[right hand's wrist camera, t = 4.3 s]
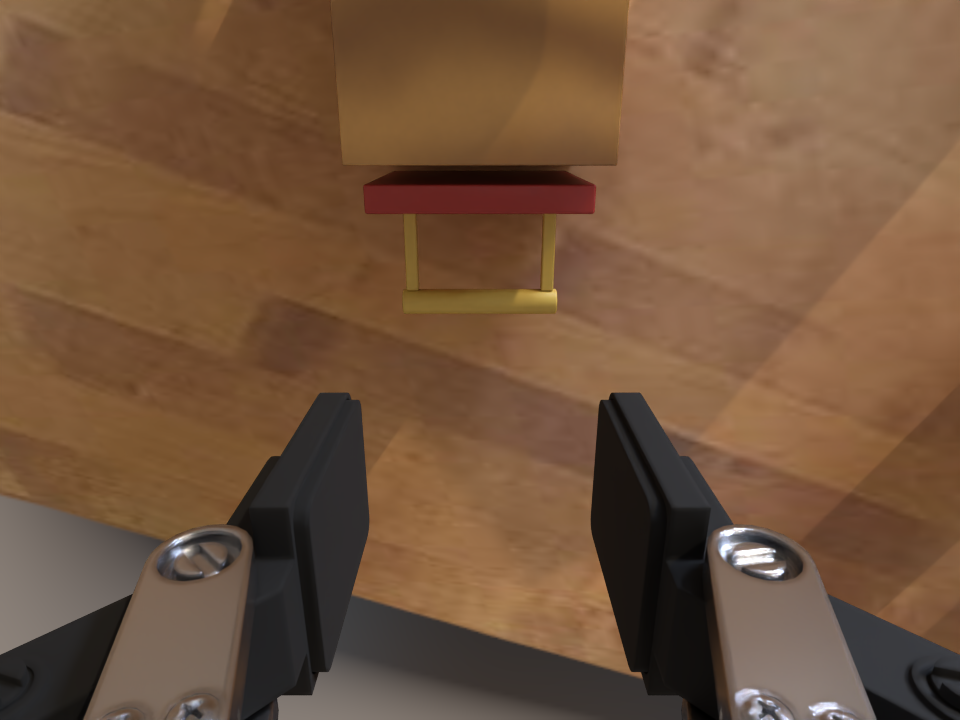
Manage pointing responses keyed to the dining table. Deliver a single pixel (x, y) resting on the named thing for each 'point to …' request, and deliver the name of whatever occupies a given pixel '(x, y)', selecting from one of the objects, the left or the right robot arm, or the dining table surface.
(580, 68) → the cabinet
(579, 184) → the drawer
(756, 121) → the dining table surface
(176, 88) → the dining table surface
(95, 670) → the right robot arm
